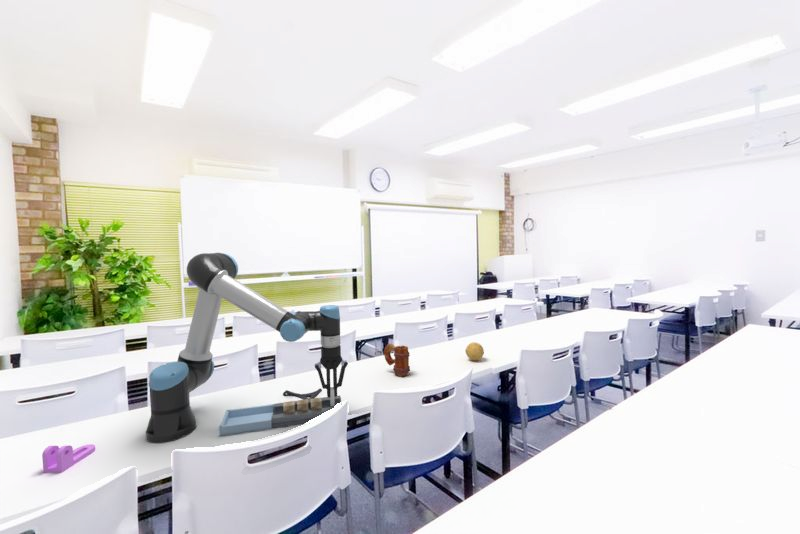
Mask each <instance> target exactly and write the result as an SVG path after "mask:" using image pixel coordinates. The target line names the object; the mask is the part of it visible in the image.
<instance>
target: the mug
mask: <svg viewBox="0 0 800 534" xmlns="http://www.w3.org/2000/svg"><path fill="white" fill-rule="evenodd" d="M392 352H393V356H394V358H392V356H391V353H392ZM383 356H384V359H385V361H386V363H387V365H388V366H392V365H393V369H392V370H393V372H394V375H396V376H398V377H406V376H408V375H409V373H410V371H411V367H410V364H409V360H410V358H409V357H410V352H409V347H408V346H406V345H397V346H395V345H394V344H393V343H387V345H386V346H385V347H384V350H383Z"/></svg>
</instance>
